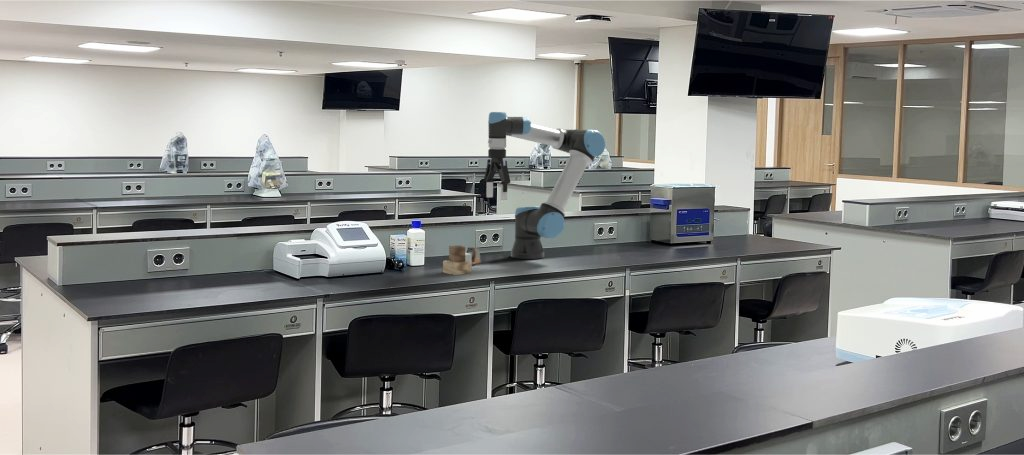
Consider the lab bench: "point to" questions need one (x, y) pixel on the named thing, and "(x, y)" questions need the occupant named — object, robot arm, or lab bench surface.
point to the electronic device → (474, 255)
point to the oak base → (456, 267)
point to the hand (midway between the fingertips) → (496, 198)
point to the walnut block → (457, 253)
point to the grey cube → (468, 258)
